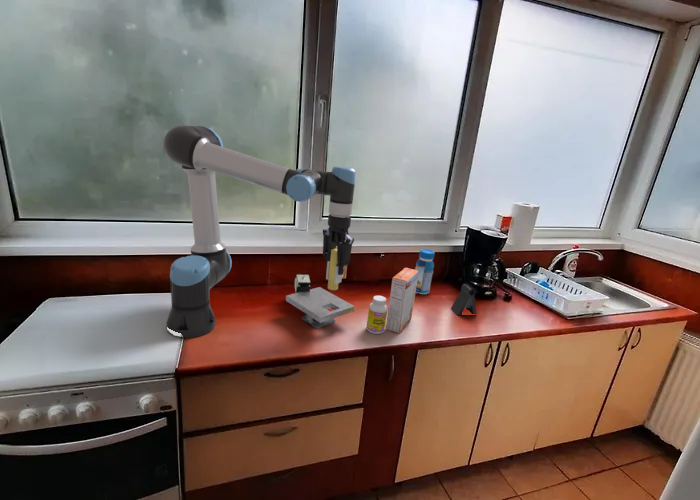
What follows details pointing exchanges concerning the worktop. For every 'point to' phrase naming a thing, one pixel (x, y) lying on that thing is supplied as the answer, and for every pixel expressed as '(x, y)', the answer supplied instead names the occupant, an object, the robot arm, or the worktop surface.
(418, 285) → the beverage bottle
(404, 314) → the cracker box
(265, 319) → the worktop surface
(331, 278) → the pin
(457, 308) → the phone stand
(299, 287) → the pneumatic valve
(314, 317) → the gray slab
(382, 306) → the supplement bottle
